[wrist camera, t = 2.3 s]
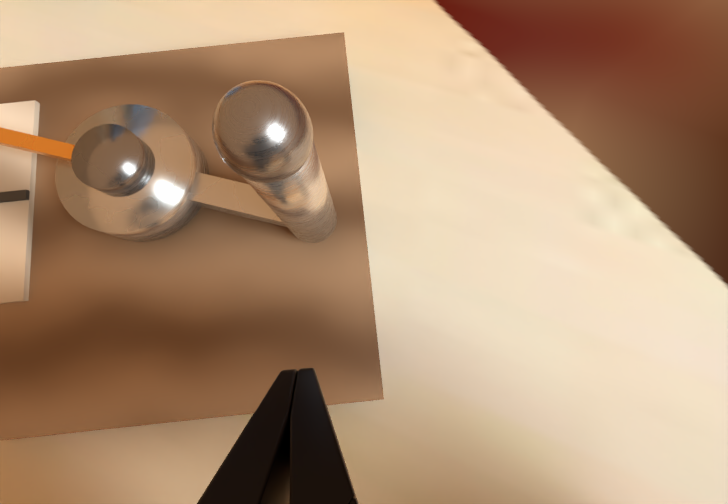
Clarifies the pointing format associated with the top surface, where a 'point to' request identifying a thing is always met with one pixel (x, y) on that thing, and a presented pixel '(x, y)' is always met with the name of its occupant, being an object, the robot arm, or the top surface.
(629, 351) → the top surface
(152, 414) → the stand
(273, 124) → the metal post and dome
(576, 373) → the top surface
